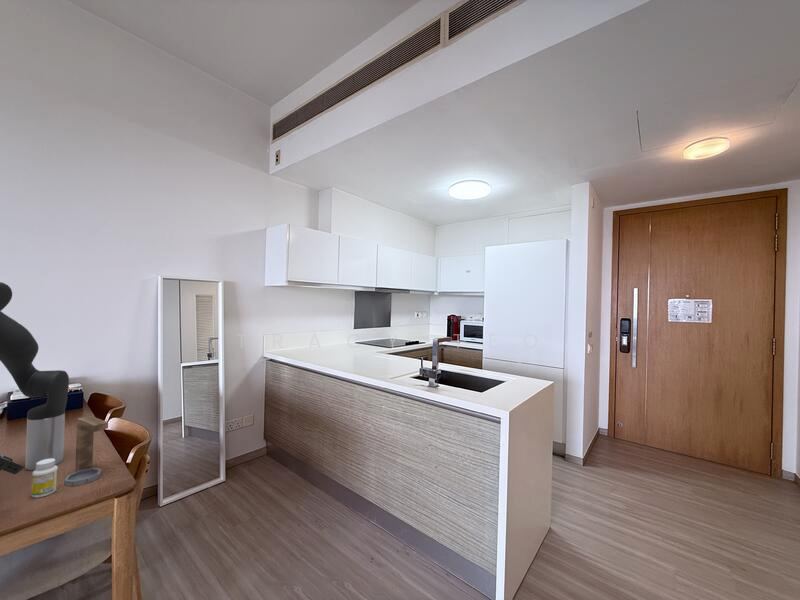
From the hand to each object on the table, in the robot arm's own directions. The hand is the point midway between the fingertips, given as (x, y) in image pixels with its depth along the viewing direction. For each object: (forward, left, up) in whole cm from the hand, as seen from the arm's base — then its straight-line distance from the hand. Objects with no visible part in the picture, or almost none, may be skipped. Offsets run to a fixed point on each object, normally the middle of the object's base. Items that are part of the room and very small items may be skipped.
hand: (14, 466), depth 94 cm
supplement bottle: (-3, +6, -11) cm, 13 cm away
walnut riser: (-11, +14, -11) cm, 21 cm away
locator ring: (-8, +13, -11) cm, 19 cm away
